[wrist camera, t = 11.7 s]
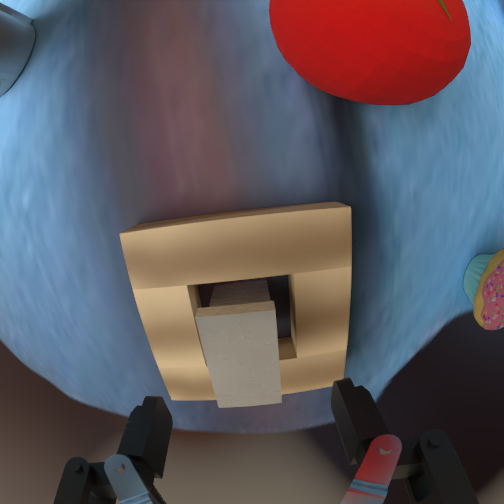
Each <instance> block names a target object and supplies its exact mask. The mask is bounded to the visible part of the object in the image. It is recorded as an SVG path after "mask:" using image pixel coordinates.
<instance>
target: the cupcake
mask: <svg viewBox="0 0 504 504" xmlns="http://www.w3.org/2000/svg"><path fill="white" fill-rule="evenodd" d="M463 288H464V292H465V293H466V295H467V296H468V297H469V299H470V301H471V302H472V304H473V306H474V316H475V319H476V320H477V322H478V323H479V325H480V326H482V327H483V328H485V329H486V330H496V329H500V328H501V327H504V248H503V249H500V250H499V251H498V252H497V253H496V254H491V255H485V254H480V255H477V256H476V257H474V258H473V259H472V260H471V262H470V263H469V265H468V267H467V269H466V271H465V274H464V279H463Z"/></svg>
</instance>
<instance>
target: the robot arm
mask: <svg viewBox="0 0 504 504" xmlns="http://www.w3.org/2000/svg"><path fill="white" fill-rule="evenodd" d="M31 22H32V19H31V18H29V17H27V16H25V15H24V14H22V13H20V12H18V11H16V10H14V9H12V8H10V7H8V6H6V5H4V4H2V3H0V96H1V95H3V94H4V93H5V92H6V91H7V90H8V89H9V88H10V87H11V85H12V84H13V83H14V82H15V80H16V79H17V77H18V76H19V74H20V73H21V71H22V70H23V68H24V66H25V64H26V62H27V60H28V58H29V56H30V53H31V51H32V48H33V45H34V41H35V30H34V28H33V27H32V25H31ZM331 407H332V412H333V415H334V418H335V421H336V424H337V427H338V430H339V433H340V436H341V439H342V442H343V445H344V448H345V450H346V454H347V457H348V460H349V463H350V465H352V464H356V463H357V465H358V468H359V471H358V472H357V474H356V476H355V478H354V480H353V482H352V484H351V486H350V488H349V490H348V491H347V493H346V495H345V497H344V498H343V500H342V502H341V504H383V501H384V499H385V497H386V494H387V487H388V485H389V482H390V480H391V479H399V478H403V480H404V483H405V485H406V489H407V492H408V495H409V498H410V501H411V504H479V503H478V500H477V498H476V495H475V493H474V491H473V488H472V486H471V484H470V482H469V479H468V477H467V475H466V473H465V471H464V469H463V466H462V464H461V462H460V460H459V458H458V456H457V454H456V452H455V450H454V448H453V446H452V444H451V442H450V440H449V438H448V436H447V435H446V434H445V433H444V432H443V431H441V430H436V429H435V430H430V431H428V432H426V433H425V434H424V435H423V436H422V437H421V438H413V439H399V438H397V437H396V436H394V435H392V434H391V433H390V432H389V430H388V428H387V426H386V424H385V422H384V420H383V418H382V416H381V414H380V412H379V410H378V408H377V406H376V404H375V402H374V400H373V398H372V396H371V394H370V392H369V391H368V390H367V389H365V388H364V387H363V386H362V385H361V386H357V387H354V385H353V382H352V380H351V379H350V378H345V379H341V380H336V381H334V382H333V389H332V397H331ZM172 425H173V421H172V416H171V414H170V412H169V410H168V408H167V406H166V404H165V402H164V400H163V398H162V397H160V396H146V397H145V399H144V401H143V404H142V406H136V408H135V409H134V410H133V411H132V412H131V414H130V417H129V419H128V423H127V425H126V429H125V431H124V434H123V437H122V439H121V442H120V446H119V449H118V451H117V454H116V455H113V456H111V457H109V458H108V459H107V460H106V462H98V463H88V462H87V461H86V460H85V459H84V458H81V457H73V458H71V459H70V460H69V461H68V462H67V464H66V466H65V469H64V472H63V474H62V478H61V481H60V484H59V487H58V490H57V493H56V497H55V500H54V504H116V498H118V500H119V502H120V504H167V503H166V502H165V500H164V499H163V497H162V496H161V494H160V493H159V491H158V490H157V488H156V487H155V485H154V484H153V481H154V478H160V479H162V477H163V472H164V466H165V461H166V456H167V450H168V445H169V440H170V435H171V430H172Z"/></svg>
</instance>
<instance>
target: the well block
mask: <svg viewBox="0 0 504 504" xmlns="http://www.w3.org/2000/svg"><path fill="white" fill-rule="evenodd" d="M120 239H121V244H122V248H123V253H124V257H125V261H126V266H127V270H128V274H129V277H130V281H131V285H132V289H133V292H134V296H135V299H136V303H137V306H138V309H139V313H140V316H141V319H142V322H143V325H144V328H145V331H146V334H147V337H148V340H149V343H150V346H151V349H152V352H153V354H154V357H155V360H156V362H157V365H158V367H159V370H160V373H161V375H162V378H163V380H164V382H165V385H166V387H167V390H168V392H169V394H170V397H171V399H172V400H217V399H216V396H215V392H214V389H213V385H212V382H211V378H210V375H209V371H208V367H207V363H206V360H205V356H204V352H203V348H202V344H201V340H200V336H199V332H198V328H197V323H196V319H195V316H196V313H197V310H198V308H202V306H201V301H200V296H199V291H198V286H197V284H205V283H215V282H225V281H235V280H244V279H253V278H262V277H271V276H279V275H288V283H289V300H290V319H291V337H284V338H278V351H279V366H280V381H281V394H288V393H295V392H301V391H308V390H313V389H319V388H324V387H330V386H333V382H334V381H336V380H341V379H343V376H344V368H345V360H346V351H347V340H348V329H349V315H350V298H351V270H352V226H351V207H350V206H347V205H345V204H342V203H339V202H336V201H334V202H321V203H309V204H297V205H286V206H276V207H266V208H257V209H248V210H239V211H230V212H222V213H214V214H206V215H199V216H191V217H184V218H177V219H170V220H163V221H157V222H150V223H144V224H138V225H135V226H133V227H131V228H129V229H127V230H125V231H124V232H122V233H120Z"/></svg>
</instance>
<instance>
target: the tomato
mask: <svg viewBox="0 0 504 504" xmlns="http://www.w3.org/2000/svg"><path fill="white" fill-rule="evenodd" d="M269 15H270V24H271V28H272V31H273V35H274V38H275V40H276V43H277V46H278V48H279V50H280V52H281V53H282V55H283V56H284V58H285V60H286V61H287V62H288V63H289V64H290V65H291V66H292V67H293V68H294V69H295V71H296V72H297V73H298V74H299V75H300V76H302V77H303V78H304V79H305V80H306V81H307V82H309V83H310V84H312V85H313V86H315V87H317V88H318V89H320V90H322V91H324V92H326V93H329V94H331V95H334V96H337V97H341V98H345V99H348V100H352V101H356V102H361V103H367V104H376V105H408V104H412V103H415V102H418V101H421V100H424V99H426V98H429V97H431V96H434V95H435V94H436V93H438V92H439V91H440V90H442V89H443V88H445V87H446V86H447V85H448V84H449V83H450V82H451V81H452V80H453V79H454V78H455V77H456V76H457V75H458V73H459V72H460V71H461V70H462V69H463V67H464V65H465V62H466V59H467V55H468V52H469V49H470V46H471V34H470V27H469V20H468V15H467V11H466V9H465V6H464V3H463V1H462V0H270V4H269Z"/></svg>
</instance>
